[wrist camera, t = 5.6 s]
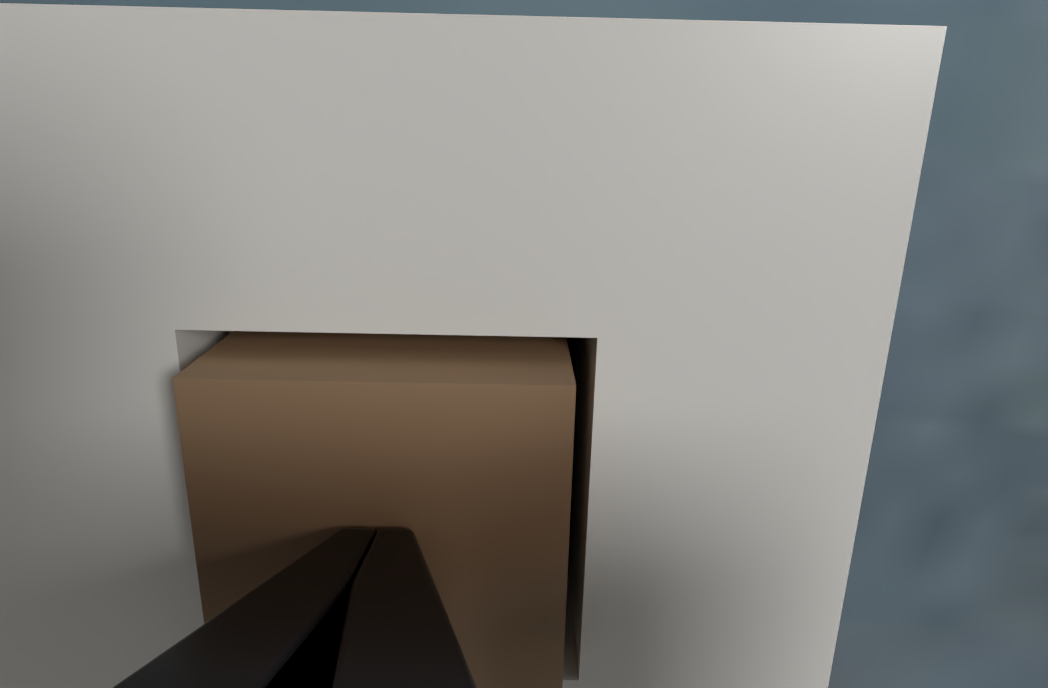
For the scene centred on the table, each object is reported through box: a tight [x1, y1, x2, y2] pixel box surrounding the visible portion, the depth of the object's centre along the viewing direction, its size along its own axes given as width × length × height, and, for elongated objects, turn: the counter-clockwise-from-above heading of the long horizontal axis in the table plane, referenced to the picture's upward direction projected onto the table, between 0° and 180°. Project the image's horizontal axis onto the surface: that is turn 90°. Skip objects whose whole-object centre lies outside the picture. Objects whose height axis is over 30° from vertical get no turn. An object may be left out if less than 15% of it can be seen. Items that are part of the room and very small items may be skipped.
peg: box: [172, 331, 576, 688], centre depth 11 cm, size 4×4×5 cm
